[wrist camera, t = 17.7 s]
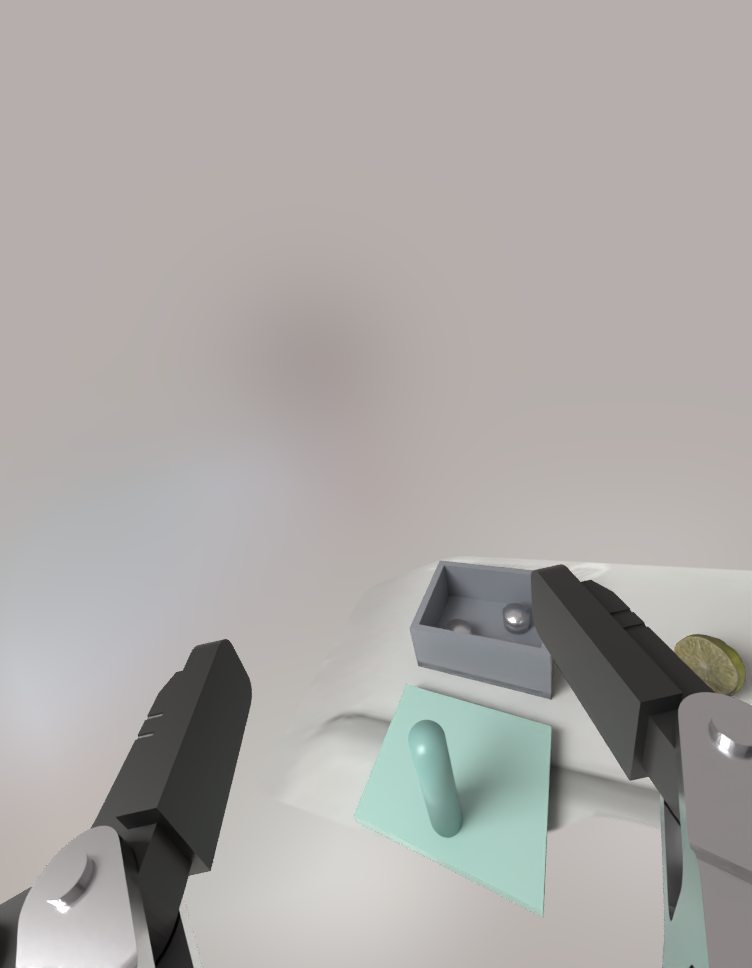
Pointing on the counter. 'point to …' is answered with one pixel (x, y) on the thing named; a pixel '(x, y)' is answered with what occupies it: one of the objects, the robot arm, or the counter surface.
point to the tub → (481, 628)
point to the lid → (465, 792)
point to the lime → (712, 662)
